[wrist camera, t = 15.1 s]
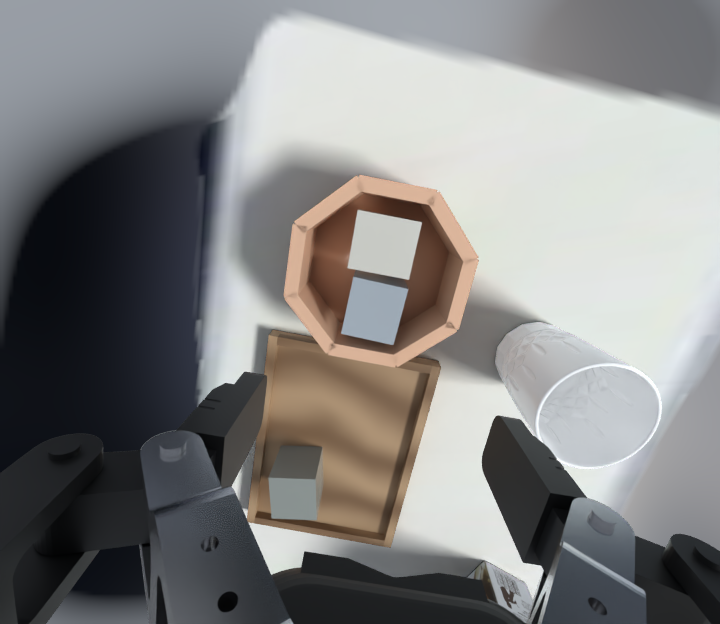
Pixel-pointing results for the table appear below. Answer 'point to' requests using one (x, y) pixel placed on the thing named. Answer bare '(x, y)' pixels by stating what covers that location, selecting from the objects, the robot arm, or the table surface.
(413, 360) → the walnut tray
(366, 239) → the pale grey cube
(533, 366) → the white cup
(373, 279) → the pale blue cube
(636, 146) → the table surface
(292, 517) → the medium grey cube
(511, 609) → the coffee box
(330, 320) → the terracotta bowl
